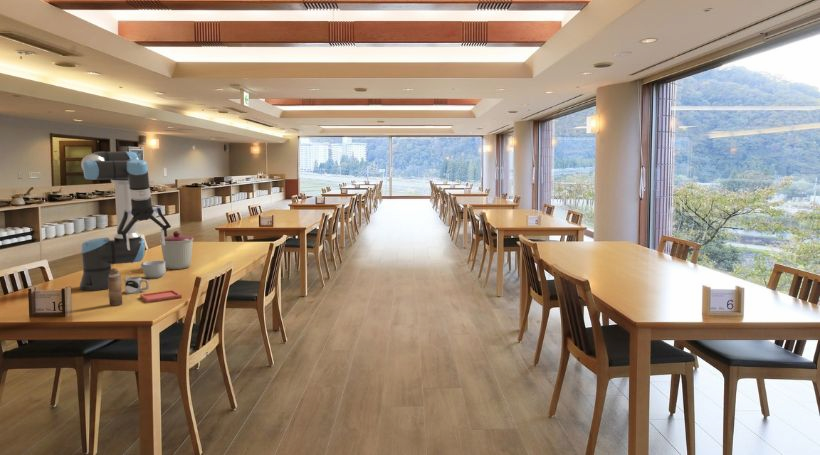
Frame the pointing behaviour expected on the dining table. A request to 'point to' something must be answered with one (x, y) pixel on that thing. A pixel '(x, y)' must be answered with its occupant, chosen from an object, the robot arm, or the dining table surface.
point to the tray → (160, 296)
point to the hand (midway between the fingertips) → (146, 246)
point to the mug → (135, 285)
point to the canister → (177, 251)
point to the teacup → (154, 269)
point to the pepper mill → (114, 288)
